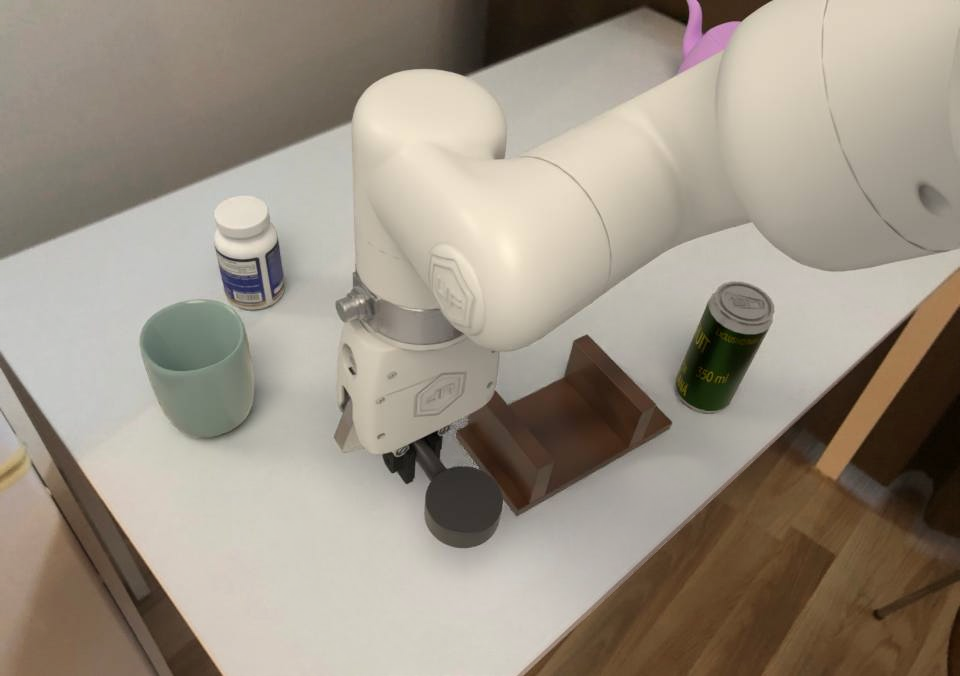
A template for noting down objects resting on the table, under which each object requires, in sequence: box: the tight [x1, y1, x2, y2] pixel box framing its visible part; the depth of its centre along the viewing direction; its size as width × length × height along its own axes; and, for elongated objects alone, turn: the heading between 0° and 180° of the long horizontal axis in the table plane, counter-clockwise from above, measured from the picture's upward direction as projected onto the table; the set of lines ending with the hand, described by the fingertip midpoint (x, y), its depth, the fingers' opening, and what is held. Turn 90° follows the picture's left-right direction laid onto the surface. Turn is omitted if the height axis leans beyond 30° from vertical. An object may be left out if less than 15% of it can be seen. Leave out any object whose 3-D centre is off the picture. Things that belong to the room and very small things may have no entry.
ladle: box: [411, 437, 504, 549], centre depth 58 cm, size 5×20×2 cm, turn 34°
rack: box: [455, 333, 673, 517], centre depth 67 cm, size 9×17×6 cm, turn 124°
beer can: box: [674, 281, 775, 414], centre depth 70 cm, size 5×5×12 cm
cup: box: [138, 298, 255, 439], centre depth 64 cm, size 8×8×10 cm
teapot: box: [676, 0, 742, 75], centre depth 106 cm, size 20×13×12 cm, turn 39°
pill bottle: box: [213, 195, 286, 311], centre depth 74 cm, size 6×6×10 cm
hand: (411, 461), depth 60 cm, fingers closed on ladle, 1 cm apart
